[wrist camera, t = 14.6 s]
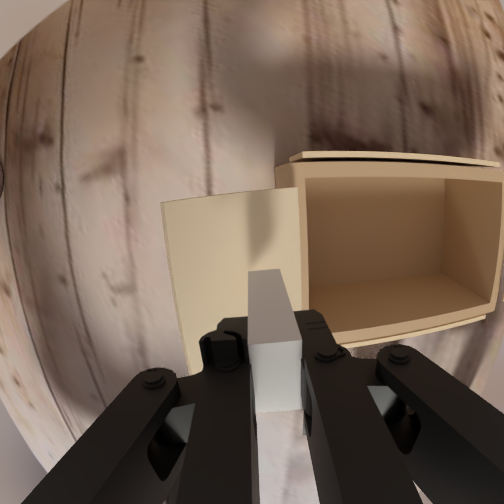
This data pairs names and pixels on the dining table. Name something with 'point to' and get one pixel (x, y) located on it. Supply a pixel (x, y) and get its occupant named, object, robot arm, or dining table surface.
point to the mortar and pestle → (1, 180)
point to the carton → (396, 241)
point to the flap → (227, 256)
